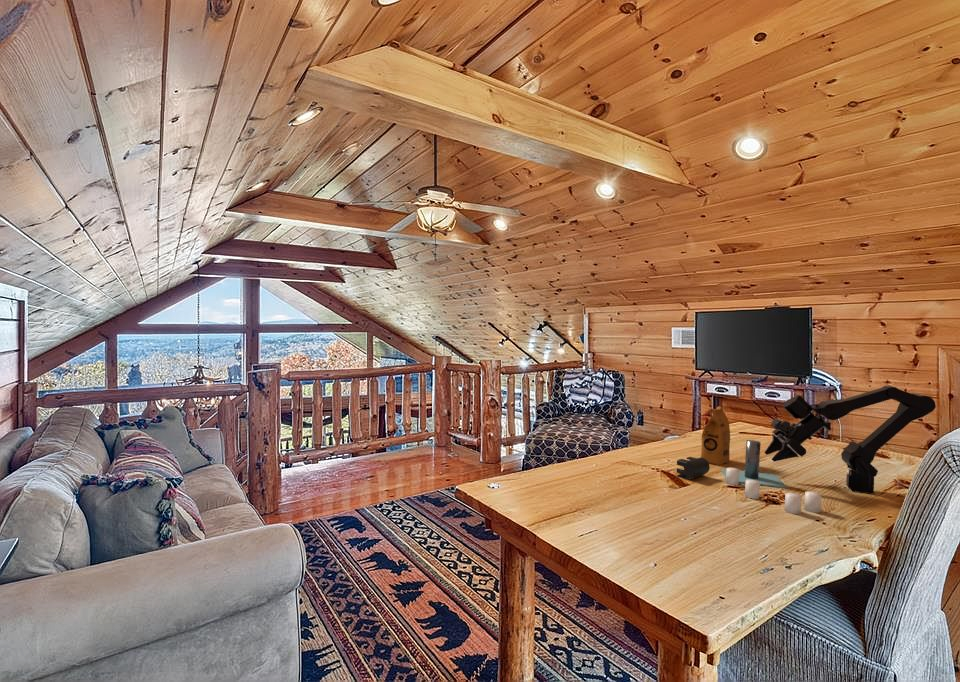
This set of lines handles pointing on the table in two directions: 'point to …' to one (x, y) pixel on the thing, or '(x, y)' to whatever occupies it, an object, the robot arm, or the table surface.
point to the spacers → (790, 498)
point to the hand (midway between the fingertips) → (768, 457)
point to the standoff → (752, 459)
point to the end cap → (692, 467)
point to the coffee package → (716, 438)
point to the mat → (761, 479)
